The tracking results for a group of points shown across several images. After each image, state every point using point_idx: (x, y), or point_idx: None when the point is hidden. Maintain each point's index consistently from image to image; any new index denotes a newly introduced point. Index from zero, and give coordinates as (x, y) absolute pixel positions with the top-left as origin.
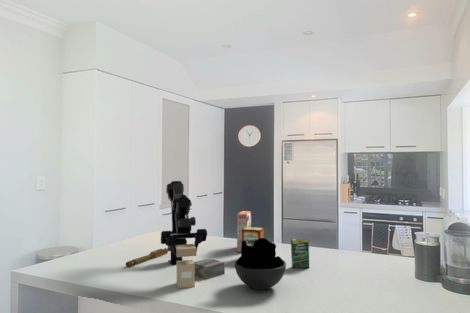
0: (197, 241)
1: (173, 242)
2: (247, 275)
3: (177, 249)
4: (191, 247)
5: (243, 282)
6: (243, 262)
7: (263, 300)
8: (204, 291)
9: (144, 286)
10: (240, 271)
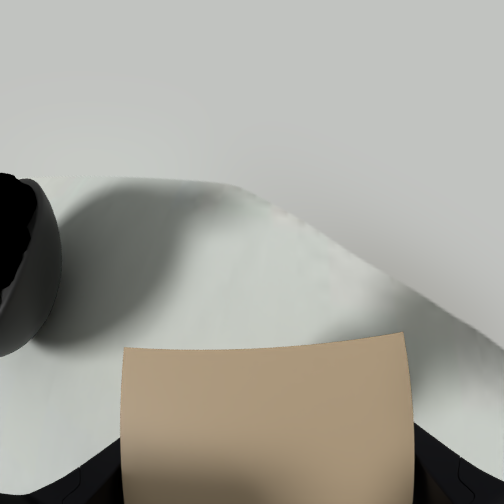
0: (56, 496)
1: (472, 501)
2: (51, 208)
3: (396, 334)
4: (176, 411)
5: (60, 274)
6: (26, 189)
7: (76, 214)
8: (201, 324)
9: (461, 424)
10: (50, 222)
